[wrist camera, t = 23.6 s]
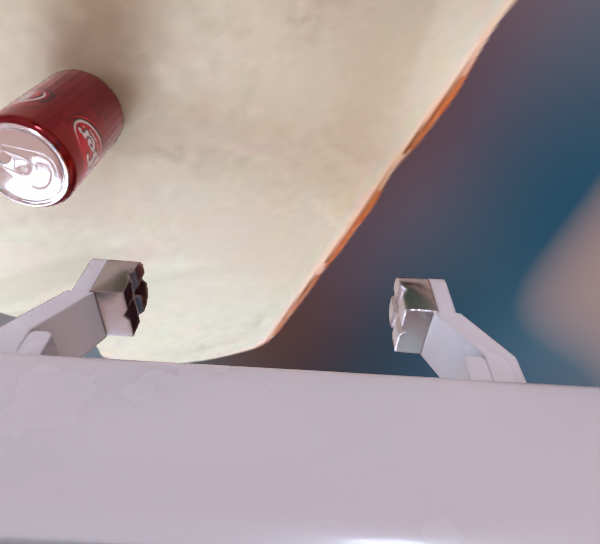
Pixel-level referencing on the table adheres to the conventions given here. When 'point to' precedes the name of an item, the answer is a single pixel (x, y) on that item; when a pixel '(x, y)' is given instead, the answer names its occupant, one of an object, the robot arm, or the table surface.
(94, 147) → the soda can
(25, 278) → the table surface
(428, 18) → the table surface
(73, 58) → the table surface
